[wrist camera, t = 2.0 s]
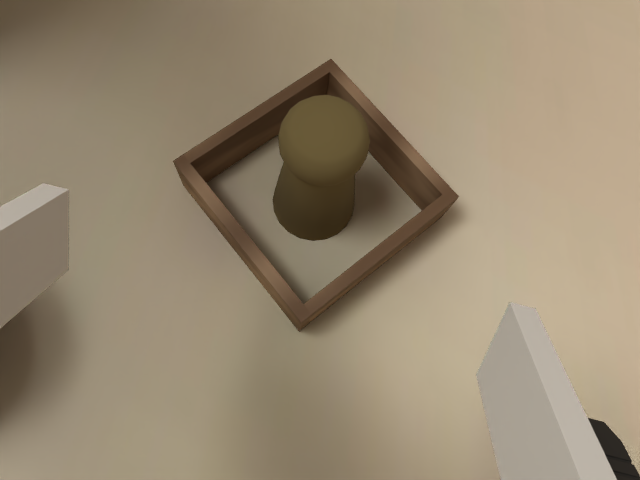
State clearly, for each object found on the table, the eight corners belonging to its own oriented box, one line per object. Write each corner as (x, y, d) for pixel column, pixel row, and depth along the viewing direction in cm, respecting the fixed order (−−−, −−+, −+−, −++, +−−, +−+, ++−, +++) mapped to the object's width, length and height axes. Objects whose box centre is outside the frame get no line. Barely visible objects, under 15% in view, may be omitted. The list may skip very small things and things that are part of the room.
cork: (257, 190, 38) (248, 109, 28) (323, 151, 40) (339, 59, 29) (303, 256, 37) (312, 196, 26) (370, 212, 38) (404, 140, 28)
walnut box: (183, 185, 38) (172, 161, 34) (326, 90, 41) (331, 58, 37) (299, 331, 35) (301, 322, 31) (441, 217, 39) (458, 196, 35)
